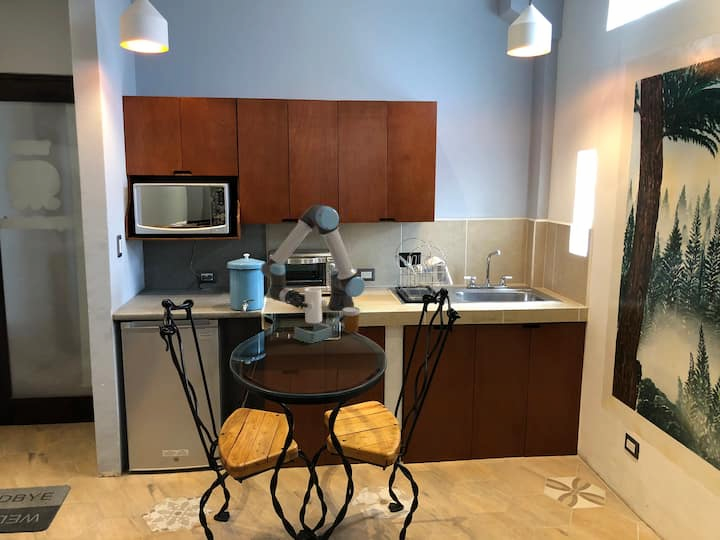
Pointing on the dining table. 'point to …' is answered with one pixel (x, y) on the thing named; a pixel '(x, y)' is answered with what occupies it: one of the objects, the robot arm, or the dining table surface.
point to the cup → (314, 298)
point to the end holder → (314, 333)
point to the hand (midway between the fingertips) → (319, 305)
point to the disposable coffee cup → (351, 319)
